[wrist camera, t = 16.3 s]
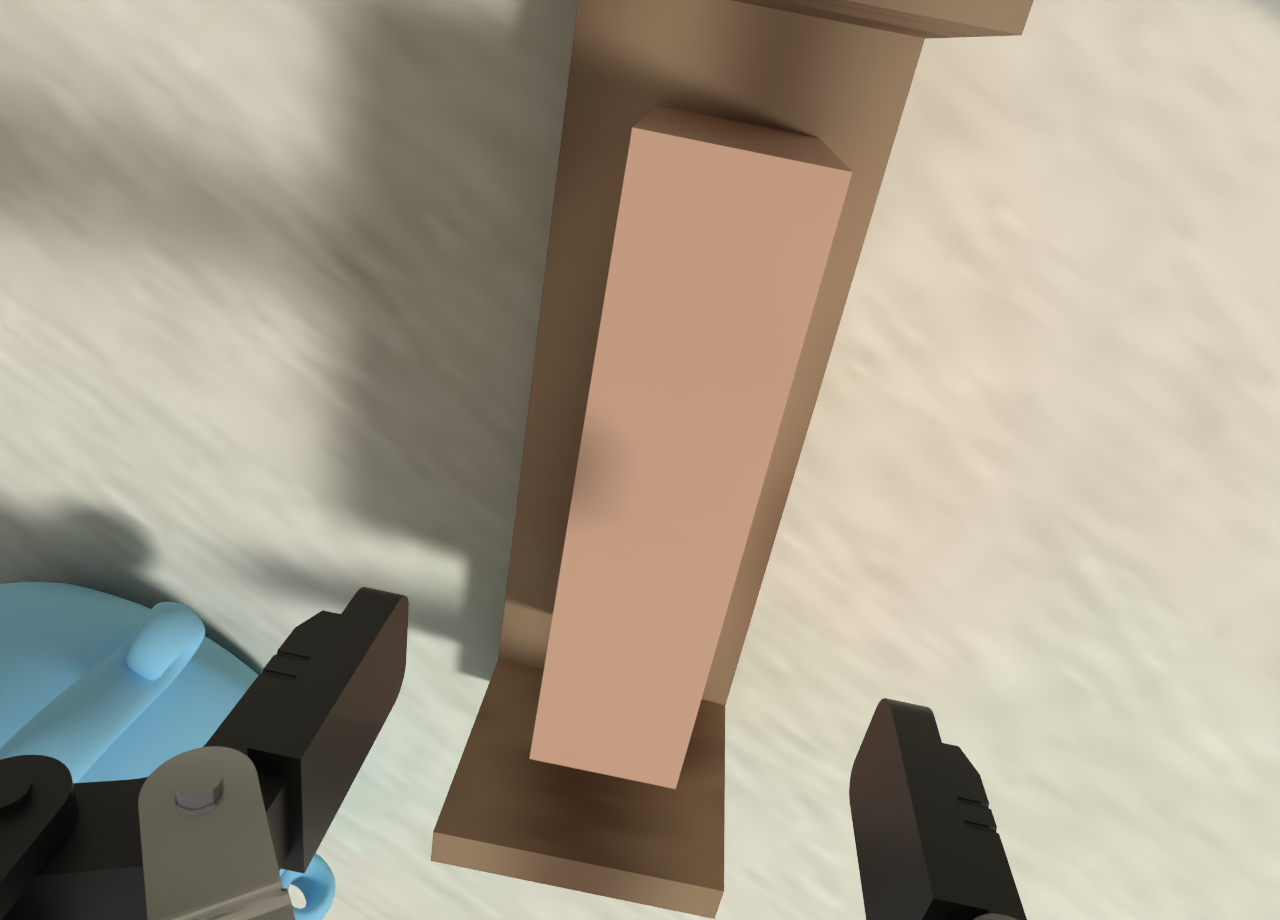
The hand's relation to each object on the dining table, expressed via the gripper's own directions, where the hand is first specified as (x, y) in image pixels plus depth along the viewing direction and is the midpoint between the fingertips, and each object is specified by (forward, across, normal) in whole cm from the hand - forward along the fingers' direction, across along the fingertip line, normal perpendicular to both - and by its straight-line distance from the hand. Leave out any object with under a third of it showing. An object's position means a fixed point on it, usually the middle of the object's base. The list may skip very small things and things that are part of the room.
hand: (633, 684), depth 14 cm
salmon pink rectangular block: (+11, 0, 0) cm, 11 cm away
